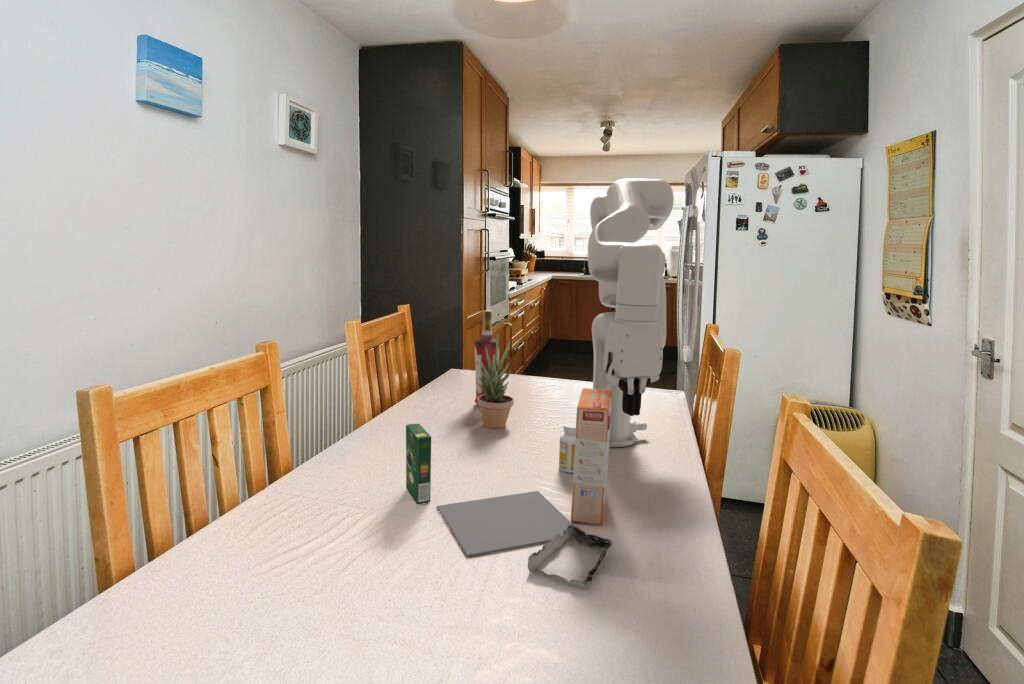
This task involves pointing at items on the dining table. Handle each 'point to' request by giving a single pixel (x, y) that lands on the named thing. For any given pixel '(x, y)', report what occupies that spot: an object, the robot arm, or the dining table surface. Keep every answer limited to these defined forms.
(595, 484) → the cracker box
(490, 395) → the potted plant
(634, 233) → the robot arm
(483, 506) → the notebook
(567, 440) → the supplement bottle
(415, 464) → the coffee box
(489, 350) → the liquor
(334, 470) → the dining table surface
